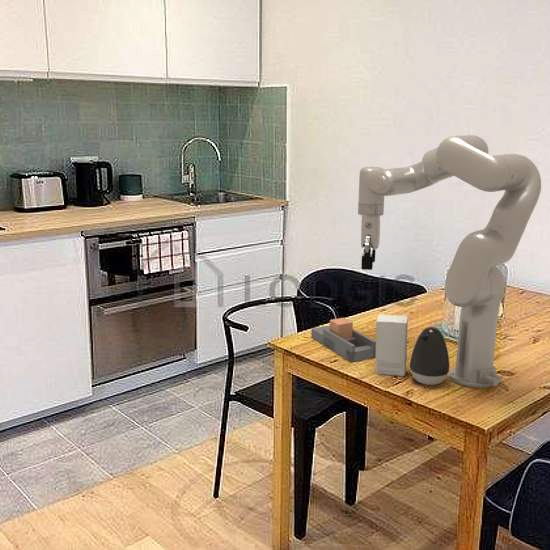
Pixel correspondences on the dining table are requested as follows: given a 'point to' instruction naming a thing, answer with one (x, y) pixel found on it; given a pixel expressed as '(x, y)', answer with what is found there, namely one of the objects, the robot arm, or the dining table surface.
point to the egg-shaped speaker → (430, 357)
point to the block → (341, 327)
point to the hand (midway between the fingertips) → (368, 265)
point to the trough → (346, 344)
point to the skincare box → (391, 344)
